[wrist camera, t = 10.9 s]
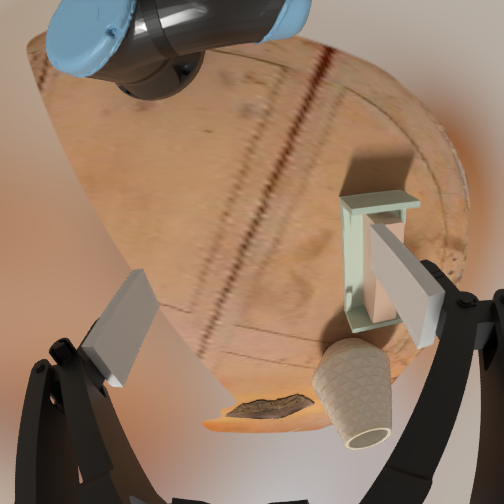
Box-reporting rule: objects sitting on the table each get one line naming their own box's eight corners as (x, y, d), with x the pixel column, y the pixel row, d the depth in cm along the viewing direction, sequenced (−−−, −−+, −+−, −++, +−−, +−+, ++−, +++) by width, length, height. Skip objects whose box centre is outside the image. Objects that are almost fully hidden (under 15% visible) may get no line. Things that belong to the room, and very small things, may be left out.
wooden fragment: (311, 390, 65) (311, 393, 64) (316, 410, 69) (316, 413, 68) (217, 403, 69) (217, 405, 68) (230, 421, 73) (230, 424, 72)
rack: (338, 196, 44) (351, 209, 37) (400, 189, 43) (420, 200, 36) (343, 309, 53) (352, 333, 47) (395, 299, 52) (408, 320, 46)
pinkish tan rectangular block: (362, 211, 43) (377, 225, 37) (386, 208, 43) (404, 222, 37) (361, 300, 51) (372, 323, 44) (382, 296, 50) (395, 318, 44)
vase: (390, 354, 59) (420, 430, 38) (329, 386, 64) (343, 464, 43) (364, 312, 54) (401, 401, 33) (294, 351, 58) (303, 443, 38)
